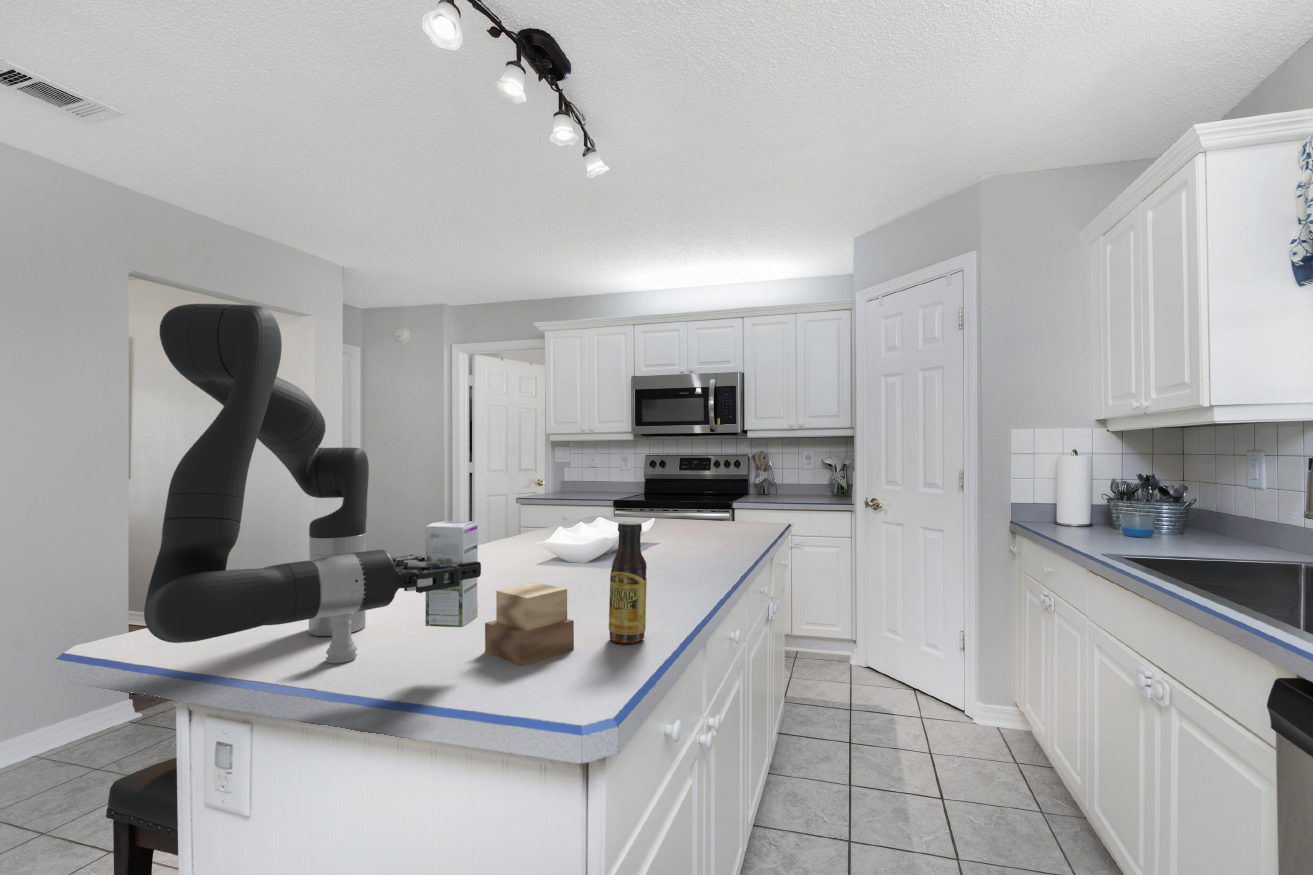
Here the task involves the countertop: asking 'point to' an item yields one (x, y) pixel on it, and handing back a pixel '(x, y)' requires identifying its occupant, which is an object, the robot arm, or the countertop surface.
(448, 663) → the countertop surface
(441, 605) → the syrup box
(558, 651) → the lower block
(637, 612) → the sauce bottle
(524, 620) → the upper block
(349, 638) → the rook chess piece
